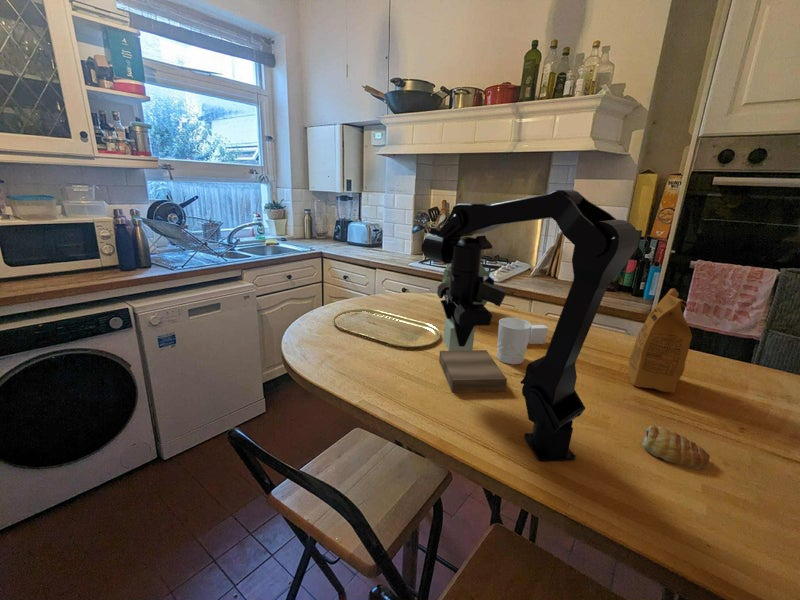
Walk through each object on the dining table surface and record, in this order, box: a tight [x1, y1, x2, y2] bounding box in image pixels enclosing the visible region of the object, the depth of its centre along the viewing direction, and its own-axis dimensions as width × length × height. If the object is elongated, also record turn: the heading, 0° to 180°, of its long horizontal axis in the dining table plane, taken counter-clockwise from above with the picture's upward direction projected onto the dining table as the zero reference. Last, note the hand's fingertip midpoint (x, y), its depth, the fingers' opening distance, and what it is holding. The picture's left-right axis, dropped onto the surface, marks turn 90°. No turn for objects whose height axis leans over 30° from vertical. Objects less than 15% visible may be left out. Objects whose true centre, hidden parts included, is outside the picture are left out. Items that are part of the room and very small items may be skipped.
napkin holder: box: [528, 324, 549, 345], centre depth 106 cm, size 15×11×6 cm
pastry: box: [642, 424, 711, 469], centre depth 64 cm, size 9×7×4 cm
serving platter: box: [332, 308, 441, 350], centre depth 112 cm, size 19×35×2 cm, turn 58°
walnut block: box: [438, 349, 508, 393], centre depth 87 cm, size 14×12×3 cm
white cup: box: [496, 317, 533, 365], centre depth 95 cm, size 8×8×10 cm
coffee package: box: [627, 288, 693, 394], centre depth 85 cm, size 10×12×22 cm
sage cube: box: [442, 318, 476, 351], centre depth 78 cm, size 5×5×5 cm
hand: (458, 340), depth 78 cm, fingers closed on sage cube, 5 cm apart
